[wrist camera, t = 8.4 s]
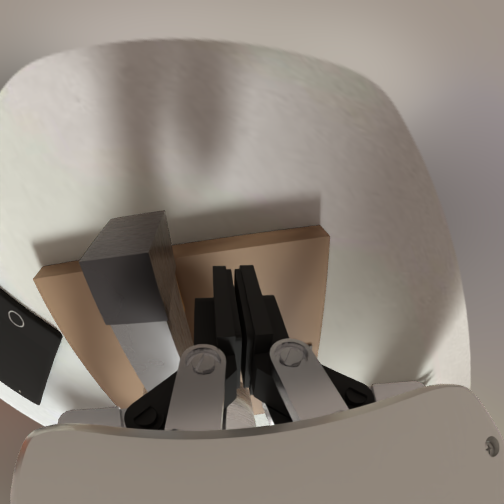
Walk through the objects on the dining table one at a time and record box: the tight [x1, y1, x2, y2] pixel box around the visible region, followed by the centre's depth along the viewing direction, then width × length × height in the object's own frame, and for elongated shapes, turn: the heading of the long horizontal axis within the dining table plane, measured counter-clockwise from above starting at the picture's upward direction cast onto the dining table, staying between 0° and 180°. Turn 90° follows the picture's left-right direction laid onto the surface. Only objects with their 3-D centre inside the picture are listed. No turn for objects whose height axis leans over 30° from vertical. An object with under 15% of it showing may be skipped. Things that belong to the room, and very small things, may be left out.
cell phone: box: [0, 288, 63, 405], centre depth 17 cm, size 9×18×1 cm, turn 138°
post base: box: [33, 225, 330, 415], centre depth 17 cm, size 18×18×4 cm
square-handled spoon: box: [79, 210, 256, 430], centre depth 12 cm, size 16×7×3 cm, turn 3°
